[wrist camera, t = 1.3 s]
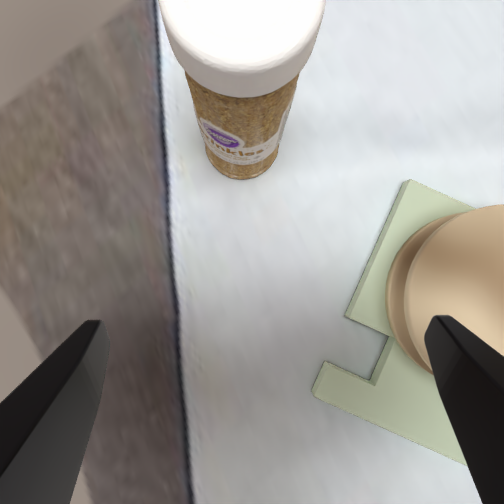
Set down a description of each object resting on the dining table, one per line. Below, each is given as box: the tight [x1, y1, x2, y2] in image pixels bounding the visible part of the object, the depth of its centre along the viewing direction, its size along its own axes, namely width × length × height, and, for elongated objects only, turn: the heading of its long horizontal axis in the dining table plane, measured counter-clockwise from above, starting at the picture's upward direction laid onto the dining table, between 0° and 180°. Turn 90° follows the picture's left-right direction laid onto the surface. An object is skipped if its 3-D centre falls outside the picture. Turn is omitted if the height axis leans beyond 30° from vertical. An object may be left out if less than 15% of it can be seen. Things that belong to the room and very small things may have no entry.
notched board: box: [311, 179, 475, 466], centre depth 23 cm, size 14×12×1 cm
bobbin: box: [385, 205, 504, 375], centre depth 20 cm, size 10×10×3 cm
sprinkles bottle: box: [158, 0, 326, 179], centre depth 16 cm, size 5×5×14 cm
